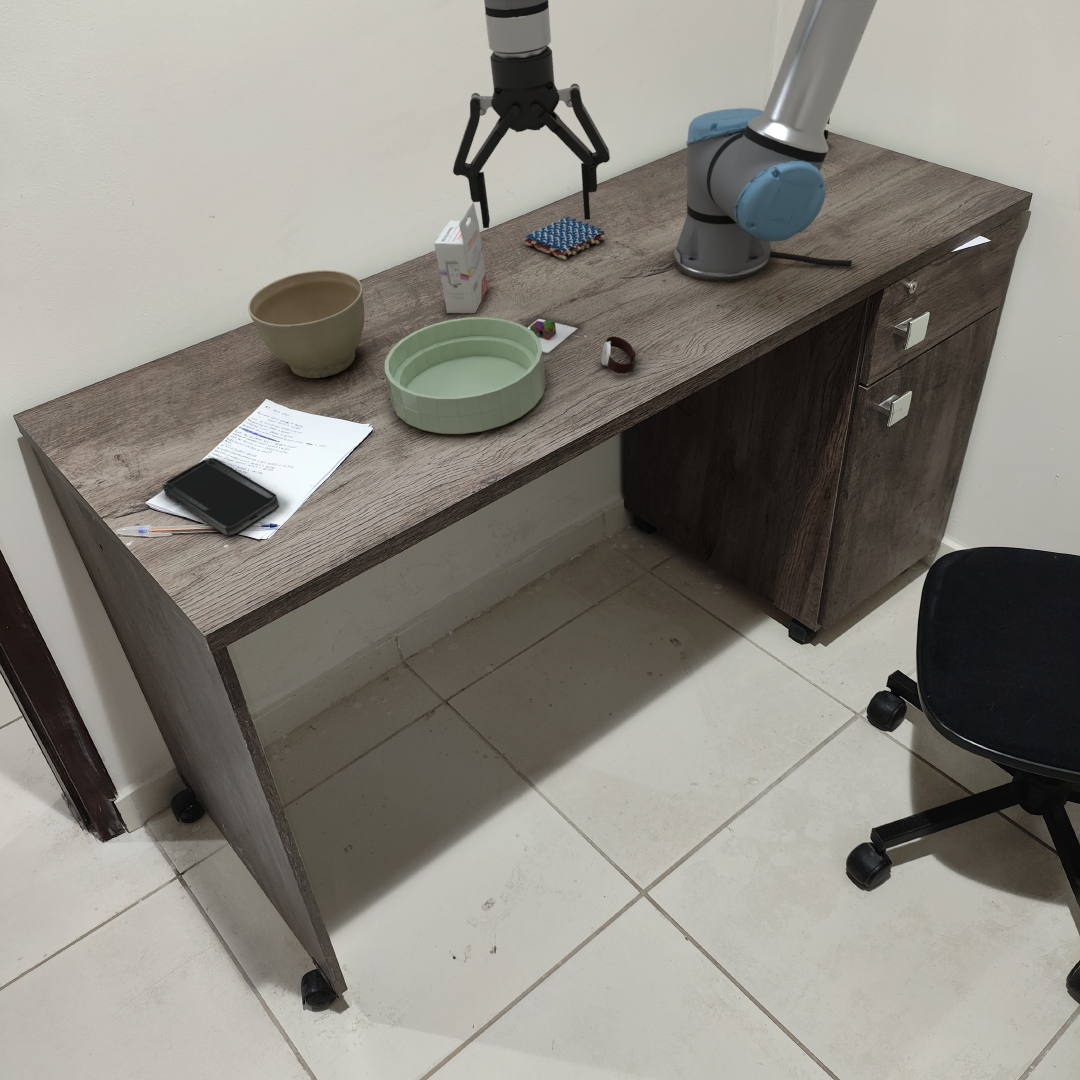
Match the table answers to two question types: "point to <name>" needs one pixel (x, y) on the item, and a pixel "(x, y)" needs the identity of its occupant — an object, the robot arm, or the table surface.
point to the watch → (623, 346)
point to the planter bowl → (311, 320)
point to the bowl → (465, 375)
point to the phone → (221, 496)
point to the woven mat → (564, 237)
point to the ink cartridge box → (461, 264)
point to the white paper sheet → (550, 333)
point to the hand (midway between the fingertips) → (536, 220)
